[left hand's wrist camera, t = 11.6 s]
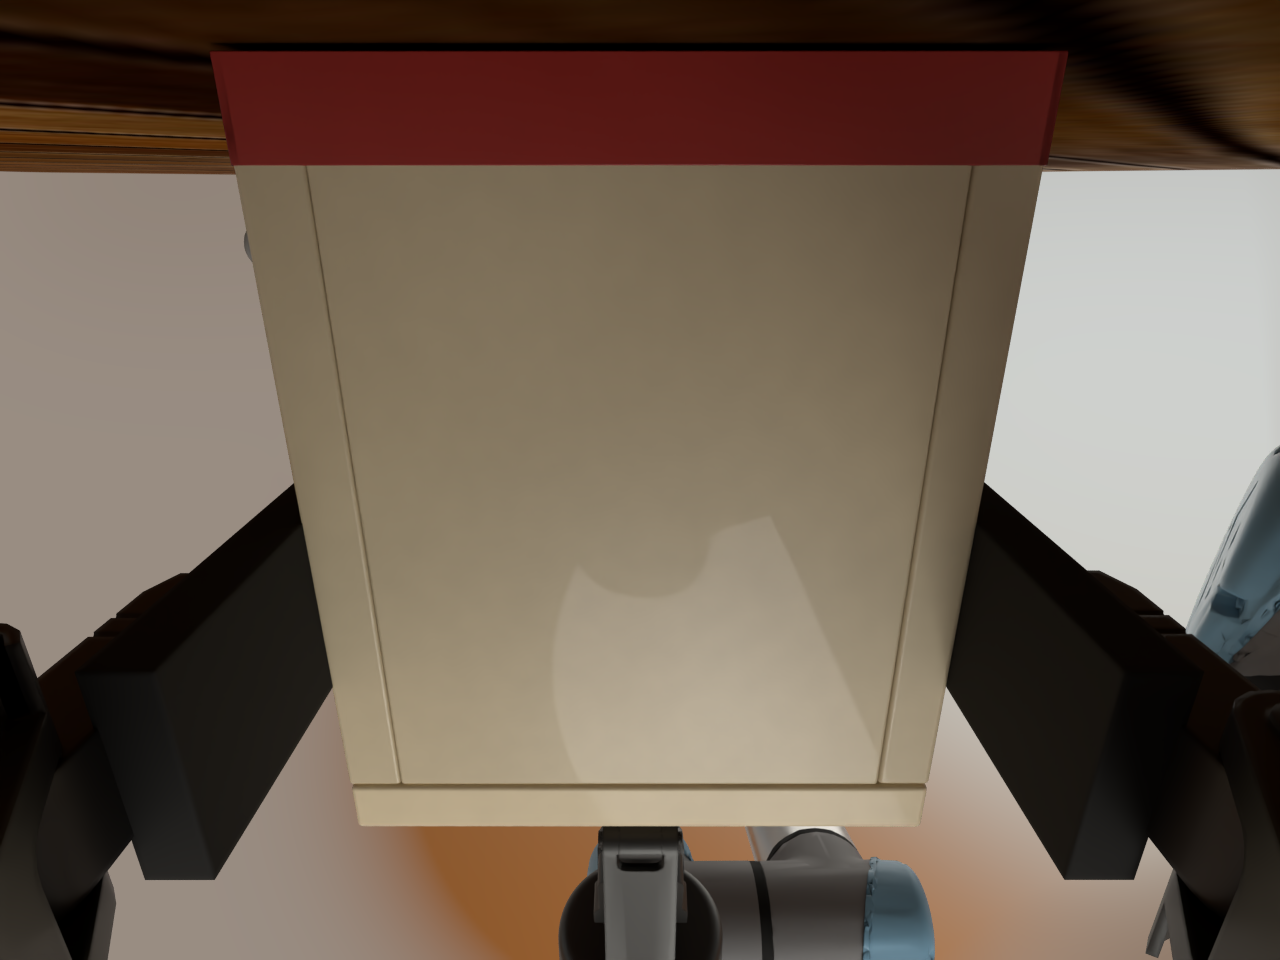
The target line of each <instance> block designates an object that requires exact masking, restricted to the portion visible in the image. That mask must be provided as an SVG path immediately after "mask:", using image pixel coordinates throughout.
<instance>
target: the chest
mask: <svg viewBox="0 0 1280 960" xmlns="http://www.w3.org/2000/svg"><path fill="white" fill-rule="evenodd" d="M210 56H211V61H212V67H213V72H214V77H215V82H216V88H217V93H218V98H219V103H220V109H221V114H222V119H223V125H224V130H225V135H226V140H227V146H228V151H229V156H230V161H231V165H232V166H234V167H235V172H236V177H237V182H238V188H239V193H240V199H241V204H242V209H243V214H244V220H245V225H246V230H247V236H248V241H249V246H250V252H251V257H252V262H253V268H254V273H255V278H256V283H257V288H258V294H259V299H260V305H261V310H262V315H263V321H264V326H265V331H266V337H267V342H268V347H269V353H270V358H271V363H272V369H273V374H274V379H275V385H276V390H277V395H278V400H279V406H280V411H281V416H282V422H283V427H284V432H285V437H286V443H287V448H288V454H289V459H290V464H291V470H292V475H293V480H294V485H295V491H296V496H297V501H298V507H299V512H300V517H301V523H302V525H303V530H304V535H305V541H306V546H307V551H308V557H309V562H310V567H311V573H312V578H313V583H314V589H315V594H316V599H317V605H318V610H319V615H320V621H321V626H322V631H323V636H324V642H325V647H326V652H327V658H328V663H329V668H330V674H331V679H332V684H333V693H334V698H335V703H336V709H337V714H338V719H339V724H340V730H341V735H342V741H343V746H344V751H345V756H346V762H347V767H348V772H349V778H350V782H351V783H353V784H398V783H400V782H401V780H402V783H404V784H875V783H877V779H878V781H879V782H880V783H926V782H927V781H928V779H929V774H930V768H931V763H932V758H933V752H934V747H935V742H936V736H937V731H938V726H939V720H940V715H941V709H942V704H943V699H944V693H945V688H946V683H947V677H948V672H949V667H950V661H951V656H952V651H953V645H954V640H955V635H956V629H957V624H958V619H959V613H960V608H961V602H962V597H963V592H964V586H965V581H966V576H967V570H968V565H969V560H970V554H971V549H972V544H973V538H974V533H975V528H976V522H977V517H978V512H979V506H980V501H981V495H982V490H983V485H984V479H985V474H986V469H987V463H988V458H989V453H990V447H991V442H992V437H993V431H994V426H995V421H996V415H997V410H998V404H999V399H1000V394H1001V388H1002V383H1003V378H1004V372H1005V367H1006V362H1007V356H1008V351H1009V345H1010V340H1011V335H1012V330H1013V324H1014V319H1015V314H1016V308H1017V303H1018V297H1019V292H1020V287H1021V281H1022V276H1023V271H1024V265H1025V260H1026V255H1027V249H1028V244H1029V239H1030V233H1031V228H1032V223H1033V217H1034V212H1035V206H1036V201H1037V196H1038V190H1039V185H1040V180H1041V174H1042V169H1043V166H1046V165H1047V163H1048V158H1049V153H1050V147H1051V142H1052V137H1053V131H1054V126H1055V121H1056V116H1057V110H1058V105H1059V100H1060V94H1061V89H1062V84H1063V78H1064V73H1065V68H1066V63H1067V57H1068V51H210Z"/></svg>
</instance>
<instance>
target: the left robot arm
mask: <svg viewBox="0 0 1280 960" xmlns="http://www.w3.org/2000/svg"><path fill="white" fill-rule="evenodd" d="M332 687H333V684H332V679H331V674H330V668H329V663H328V658H327V652H326V647H325V642H324V636H323V631H322V626H321V621H320V615H319V610H318V605H317V599H316V594H315V589H314V583H313V578H312V573H311V567H310V562H309V557H308V551H307V546H306V541H305V535H304V530H303V525H302V523H301V517H300V512H299V507H298V501H297V496H296V491H295V485H294V484H292V485H291V486H290V487H289V488H288V489H287V490H285V491H284V492H283V493H282V494H281V495H280V496H278V497H277V498H276V499H275V500H274V501H273V502H271V503H270V504H269V505H268V506H267V507H266V508H264V509H263V510H262V511H261V512H260V513H259V514H257V515H256V516H255V517H254V518H253V519H252V520H250V521H249V522H248V523H247V524H246V525H245V526H244V527H242V528H241V529H240V530H239V531H238V532H237V533H235V534H234V535H233V536H232V537H231V538H229V539H228V540H227V541H226V542H225V543H224V544H223V545H221V546H220V547H219V548H218V549H217V550H216V551H214V552H213V553H212V554H211V555H210V556H209V557H207V558H206V559H205V560H204V561H203V562H202V563H200V564H199V565H198V566H197V567H196V568H195V569H193V570H192V571H191V572H190V573H180V574H178V575H176V576H174V577H172V578H170V579H168V580H166V581H164V582H162V583H160V584H158V585H156V586H154V587H152V588H150V589H148V590H146V591H144V592H142V593H141V594H140V595H139V596H137V597H136V598H135V599H134V600H133V601H131V602H130V603H129V604H128V605H126V606H125V607H124V608H123V609H122V610H120V611H119V612H118V613H117V614H116V618H111V619H109V620H108V621H107V622H106V623H105V624H103V625H102V626H101V627H100V628H98V629H97V630H96V631H95V632H94V636H93V637H87V638H86V639H85V640H84V641H82V642H81V643H80V644H79V645H78V646H76V647H75V648H74V649H73V650H71V651H70V652H69V653H68V654H66V655H65V656H64V657H63V658H62V659H60V660H59V661H58V662H57V663H55V664H54V665H53V666H52V667H51V668H49V669H48V670H47V671H46V672H45V673H43V674H42V675H41V676H40V677H38V678H37V676H36V673H35V671H34V668H33V665H32V662H31V660H30V657H29V654H28V651H27V649H26V646H25V643H24V641H23V638H22V635H21V632H20V631H19V630H18V629H16V628H14V627H12V626H10V625H8V624H3V623H0V960H107V959H108V953H109V946H110V939H111V933H112V927H113V920H114V913H115V907H116V900H115V893H114V887H113V885H112V882H111V879H110V876H109V874H108V869H109V868H110V867H111V866H112V864H113V863H114V862H115V860H116V859H117V858H118V857H119V855H120V854H121V853H122V851H123V850H124V849H125V848H126V846H127V845H128V844H129V842H130V841H131V840H132V843H133V846H134V849H135V852H136V855H137V857H138V860H139V863H140V866H141V869H142V872H143V875H144V878H145V880H215V878H216V877H217V875H218V873H219V872H220V870H221V869H222V867H223V865H224V864H225V862H226V860H227V859H228V857H229V855H230V854H231V852H232V851H233V849H234V847H235V846H236V844H237V842H238V841H239V839H240V838H241V836H242V834H243V833H244V831H245V829H246V828H247V826H248V824H249V823H250V821H251V819H252V818H253V816H254V815H255V813H256V811H257V810H258V808H259V806H260V805H261V803H262V802H263V800H264V798H265V797H266V795H267V793H268V792H269V790H270V789H271V787H272V785H273V784H274V782H275V780H276V779H277V777H278V775H279V774H280V772H281V770H282V769H283V767H284V766H285V764H286V762H287V761H288V759H289V757H290V756H291V754H292V753H293V751H294V749H295V748H296V746H297V744H298V743H299V741H300V740H301V738H302V736H303V735H304V733H305V731H306V730H307V728H308V726H309V725H310V723H311V722H312V720H313V718H314V717H315V715H316V713H317V712H318V710H319V708H320V707H321V705H322V703H323V702H324V700H325V699H326V697H327V695H328V694H329V692H330V691H331V689H332ZM946 687H947V689H948V690H949V692H950V693H951V695H952V697H953V698H954V700H955V702H956V703H957V705H958V707H959V708H960V710H961V711H962V713H963V715H964V716H965V718H966V720H967V721H968V723H969V725H970V726H971V728H972V729H973V731H974V733H975V734H976V736H977V738H978V739H979V741H980V743H981V744H982V746H983V747H984V749H985V751H986V752H987V754H988V756H989V757H990V759H991V760H992V762H993V764H994V765H995V767H996V769H997V770H998V772H999V774H1000V775H1001V777H1002V778H1003V780H1004V782H1005V783H1006V785H1007V787H1008V788H1009V790H1010V792H1011V793H1012V795H1013V796H1014V798H1015V800H1016V801H1017V803H1018V805H1019V806H1020V808H1021V810H1022V811H1023V813H1024V814H1025V816H1026V818H1027V819H1028V821H1029V823H1030V824H1031V826H1032V827H1033V829H1034V831H1035V832H1036V834H1037V836H1038V837H1039V839H1040V840H1041V842H1042V844H1043V845H1044V847H1045V849H1046V850H1047V852H1048V854H1049V855H1050V857H1051V859H1052V860H1053V862H1054V863H1055V865H1056V867H1057V868H1058V870H1059V872H1060V873H1061V875H1062V876H1063V878H1064V879H1065V880H1134V878H1135V875H1136V872H1137V869H1138V866H1139V863H1140V860H1141V857H1142V854H1143V851H1144V848H1145V845H1146V842H1147V840H1148V837H1149V838H1150V839H1151V841H1152V842H1153V843H1154V845H1155V846H1156V847H1157V848H1158V850H1159V851H1160V852H1161V853H1162V855H1163V856H1164V857H1165V859H1166V860H1167V861H1168V862H1169V864H1170V865H1171V866H1172V868H1173V871H1172V874H1171V876H1170V879H1169V882H1168V885H1167V887H1166V890H1165V893H1164V896H1163V898H1162V901H1161V904H1160V907H1159V909H1158V912H1157V915H1156V918H1155V920H1154V923H1153V926H1152V929H1151V931H1150V934H1149V937H1148V942H1147V948H1146V954H1149V955H1151V956H1154V957H1157V958H1158V956H1159V954H1160V951H1161V948H1162V946H1163V943H1164V941H1165V940H1167V939H1169V938H1170V943H1171V950H1172V957H1173V960H1280V445H1279V446H1278V447H1276V448H1275V449H1274V450H1273V451H1272V452H1271V453H1270V454H1269V455H1268V456H1267V457H1266V459H1265V460H1264V461H1263V463H1262V464H1261V466H1260V467H1259V469H1258V471H1257V472H1256V474H1255V476H1254V478H1253V480H1252V482H1251V483H1250V485H1249V487H1248V489H1247V491H1246V493H1245V495H1244V497H1243V499H1242V501H1241V503H1240V505H1239V507H1238V509H1237V511H1236V513H1235V515H1234V517H1233V519H1232V521H1231V524H1230V526H1229V528H1228V530H1227V532H1226V534H1225V536H1224V538H1223V541H1222V543H1221V545H1220V547H1219V550H1218V552H1217V554H1216V556H1215V559H1214V561H1213V563H1212V565H1211V568H1210V570H1209V572H1208V575H1207V577H1206V579H1205V582H1204V584H1203V587H1202V589H1201V591H1200V594H1199V596H1198V599H1197V601H1196V604H1195V606H1194V609H1193V611H1192V614H1191V616H1190V619H1189V621H1188V624H1187V627H1186V629H1185V628H1184V627H1183V626H1181V625H1180V624H1179V623H1178V622H1177V621H1175V620H1174V619H1173V618H1172V617H1170V616H1169V615H1164V614H1163V610H1162V609H1160V608H1159V607H1158V606H1157V605H1156V604H1154V603H1153V602H1152V601H1151V600H1149V599H1148V598H1147V597H1146V596H1144V595H1143V594H1142V593H1141V592H1140V591H1138V590H1137V589H1135V588H1133V587H1131V586H1129V585H1127V584H1125V583H1123V582H1121V581H1119V580H1117V579H1115V578H1113V577H1111V576H1109V575H1107V574H1105V573H1103V572H1101V571H1087V570H1086V569H1084V568H1083V567H1082V566H1081V565H1080V564H1079V563H1078V562H1076V561H1075V560H1074V559H1073V558H1072V557H1071V556H1069V555H1068V554H1067V553H1066V552H1065V551H1064V550H1062V549H1061V548H1060V547H1059V546H1058V545H1057V544H1055V543H1054V542H1053V541H1052V540H1051V539H1050V538H1048V537H1047V536H1046V535H1045V534H1044V533H1043V532H1041V531H1040V530H1039V529H1038V528H1037V527H1036V526H1034V525H1033V524H1032V523H1031V522H1030V521H1029V520H1027V519H1026V518H1025V517H1024V516H1023V515H1022V514H1021V513H1019V512H1018V511H1017V510H1016V509H1015V508H1014V507H1012V506H1011V505H1010V504H1009V503H1008V502H1007V501H1005V500H1004V499H1003V498H1002V497H1001V496H1000V495H998V494H997V493H996V492H995V491H994V490H993V489H991V488H990V487H989V486H988V485H987V484H986V483H984V485H983V490H982V495H981V501H980V506H979V512H978V517H977V522H976V528H975V533H974V538H973V544H972V549H971V554H970V560H969V565H968V570H967V576H966V581H965V586H964V592H963V597H962V602H961V608H960V613H959V619H958V624H957V629H956V635H955V640H954V645H953V651H952V656H951V661H950V667H949V672H948V677H947V683H946Z"/></svg>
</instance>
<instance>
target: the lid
mask: <svg viewBox="0 0 1280 960" xmlns="http://www.w3.org/2000/svg"><path fill="white" fill-rule="evenodd" d="M352 790H353V796H354V801H355V806H356V811H357V817H358V822H359V824H360V825H362V826H918V825H919V824H920V822H921V816H922V811H923V806H924V800H925V795H926V785H925V783H880V782H879V781H878V779H877V783H875V784H404V783H402V780H401V782H400V783H398V784H354V785H353V787H352Z"/></svg>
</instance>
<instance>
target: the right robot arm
mask: <svg viewBox="0 0 1280 960" xmlns="http://www.w3.org/2000/svg"><path fill="white" fill-rule="evenodd" d="M745 829H746V832H747V836H748V839H749V842H750V846H751V849H752V853H753V856H754V860H755V861H693V859H692V856H691V853H690V850H689V847H688V846H687V844H686V842H685V841H684V840H683V833H682V829H681V828H680V826H602V827H601V829H600V830H599V833H598V844H597V846H596V847H595V849H594V851H593V853H592V855H591V858H590V862H589V868H588V874H587V877H586V878H585V879H584V880H583V881H582V882H581V883H580V884H579V885H578V886H577V887H576V889H575V890H574V891H573V893H572V894H571V896H570V898H569V899H568V901H567V903H566V905H565V908H564V910H563V913H562V916H561V920H560V926H559V957H560V960H934V956H935V942H934V930H933V924H932V918H931V913H930V909H929V905H928V902H927V898H926V895H925V893H924V890H923V888H922V885H921V883H920V881H919V879H918V877H917V876H916V874H915V873H914V871H913V870H912V869H911V868H910V867H909V866H907V865H906V864H902V863H901V862H899V861H890V860H880V859H878V858H877V857H871V858H870V860H863V859H862V857H861V856H860V854H859V853H858V851H857V849H856V847H855V845H854V844H853V842H852V840H851V838H850V836H849V834H848V832H847V831H846V829H845V827H844V826H745Z"/></svg>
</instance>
